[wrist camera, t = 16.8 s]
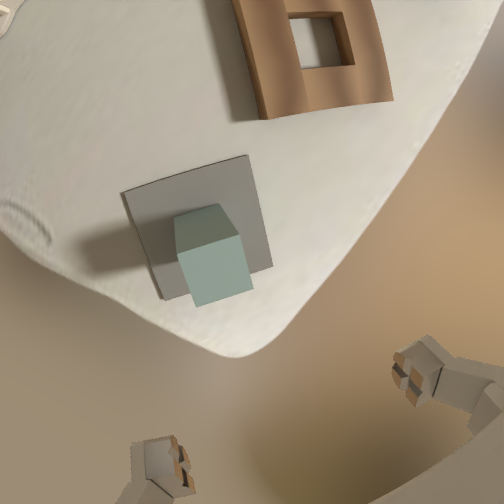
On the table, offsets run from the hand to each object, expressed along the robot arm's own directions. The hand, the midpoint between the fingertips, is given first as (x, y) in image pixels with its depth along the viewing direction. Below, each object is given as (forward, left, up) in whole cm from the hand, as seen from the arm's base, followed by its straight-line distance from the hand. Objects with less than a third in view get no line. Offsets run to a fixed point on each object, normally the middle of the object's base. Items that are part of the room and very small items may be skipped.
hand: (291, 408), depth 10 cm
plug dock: (+14, +15, -23) cm, 31 cm away
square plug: (-1, -1, -23) cm, 23 cm away
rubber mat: (-1, -1, -23) cm, 23 cm away
